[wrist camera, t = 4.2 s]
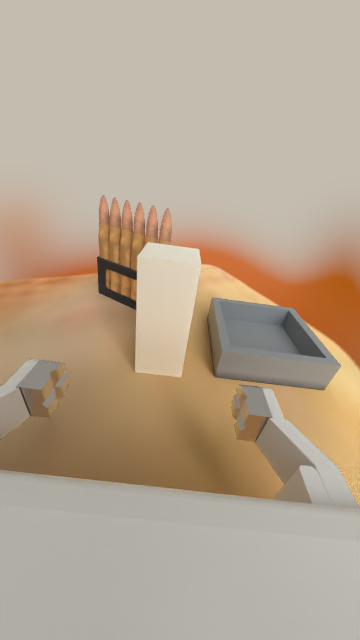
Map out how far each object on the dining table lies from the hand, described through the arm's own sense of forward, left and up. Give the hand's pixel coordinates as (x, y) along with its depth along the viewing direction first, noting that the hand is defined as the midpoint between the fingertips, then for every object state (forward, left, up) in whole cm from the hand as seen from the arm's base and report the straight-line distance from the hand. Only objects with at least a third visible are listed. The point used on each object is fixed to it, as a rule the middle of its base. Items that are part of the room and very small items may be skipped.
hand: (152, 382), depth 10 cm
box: (+10, +12, -6) cm, 16 cm away
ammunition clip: (-5, +18, -6) cm, 20 cm away
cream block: (0, +8, -6) cm, 10 cm away
